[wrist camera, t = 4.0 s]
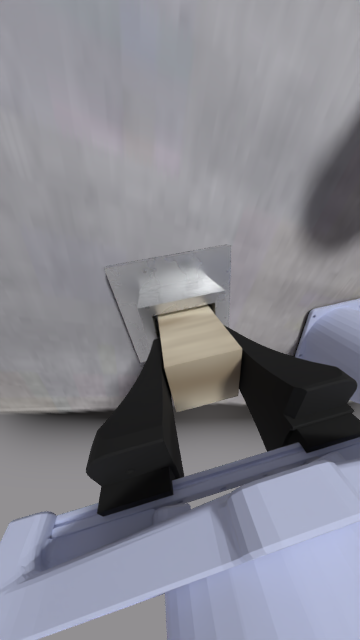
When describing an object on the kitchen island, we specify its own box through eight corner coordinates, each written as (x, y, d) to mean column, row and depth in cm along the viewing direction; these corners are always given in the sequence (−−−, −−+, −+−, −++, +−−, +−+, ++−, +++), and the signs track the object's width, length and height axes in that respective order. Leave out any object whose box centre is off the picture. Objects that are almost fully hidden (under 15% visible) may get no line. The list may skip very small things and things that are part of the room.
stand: (225, 337, 20) (245, 365, 16) (140, 356, 19) (138, 392, 15) (226, 244, 15) (258, 250, 10) (106, 266, 14) (88, 282, 9)
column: (199, 325, 17) (238, 396, 10) (163, 333, 17) (176, 412, 10) (196, 290, 15) (243, 347, 8) (155, 298, 15) (163, 367, 8)
